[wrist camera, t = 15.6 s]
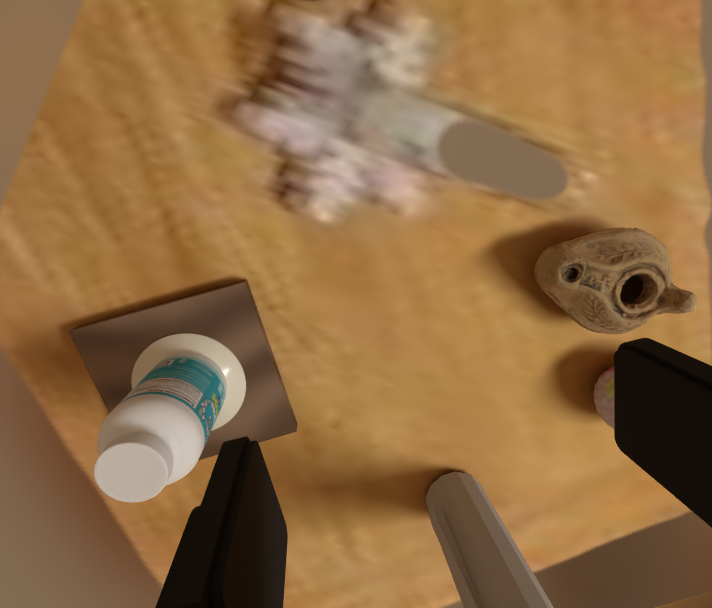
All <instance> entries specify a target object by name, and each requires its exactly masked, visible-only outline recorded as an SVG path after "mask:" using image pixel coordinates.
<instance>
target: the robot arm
mask: <svg viewBox="0 0 712 608" xmlns="http://www.w3.org/2000/svg"><path fill="white" fill-rule="evenodd" d="M614 423H615V441H616V444H617V445H618V447H619V449H620V450H621V451H622V452H623V453H624V454H625V455H627V456H628V457H629V458H630V459H631V460H632V461H634V462H635V463H636V464H637V465H638V466H640V467H641V468H642V469H643V470H644V471H645V472H647V473H648V474H649V475H650V476H651V477H653V478H654V479H655V480H656V481H657V482H658V483H660V484H661V485H662V486H663V487H664V488H666V489H667V490H668V491H669V492H670V493H672V494H673V495H674V496H675V497H676V498H677V499H679V500H680V501H681V502H682V503H683V504H685V505H686V506H687V507H688V508H689V509H690V510H692V511H693V512H694V513H695V514H696V515H698V516H699V517H700V518H701V519H702V520H704V521H705V522H706V523H707V524H708V525H709V526H711V527H712V366H711V365H708V364H706V363H704V362H701V361H699V360H697V359H695V358H692V357H690V356H688V355H686V354H683V353H681V352H679V351H677V350H674V349H672V348H670V347H667V346H665V345H663V344H661V343H658V342H656V341H654V340H652V339H649V338H641V339H637V340H633V341H629V342H625V343H622V344H621V345H620V346H619V348H618V350H617V351H616V352H615V354H614ZM286 554H287V527H286V523H285V520H284V517H283V514H282V511H281V508H280V505H279V502H278V499H277V496H276V493H275V490H274V487H273V484H272V481H271V478H270V476H269V473H268V470H267V467H266V464H265V461H264V458H263V455H262V452H261V449H260V446H259V444H258V442H257V441H256V440H254V441H250V439H249V438H248V437H247V436H245V437H241V438H237V439H233V440H229V441H225V442H223V444H222V446H221V449H220V452H219V455H218V458H217V460H216V463H215V466H214V469H213V472H212V475H211V478H210V480H209V483H208V486H207V489H206V492H205V495H204V498H203V501H202V503H201V506H198V507H196V508H194V509H193V510H192V512H191V514H190V516H189V519H188V522H187V524H186V527H185V530H184V532H183V535H182V538H181V540H180V543H179V546H178V548H177V551H176V554H175V556H174V559H173V562H172V565H171V567H170V570H169V573H168V575H167V578H166V581H165V583H164V586H163V589H162V591H161V594H160V597H159V600H158V602H157V605H156V608H283V599H284V584H285V569H286ZM656 608H712V592H709V593H706V594H702V595H699V596H695V597H692V598H688V599H685V600H681V601H677V602H674V603H670V604H667V605H663V606H659V607H656Z"/></svg>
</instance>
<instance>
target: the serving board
mask: <svg viewBox="0 0 712 608" xmlns="http://www.w3.org/2000/svg"><path fill="white" fill-rule="evenodd" d="M69 333H70V335H71V337H72V339H73V341H74V343H75V345H76V347H77V349H78V351H79V353H80V355H81V357H82V359H83V361H84V363H85V365H86V367H87V369H88V371H89V373H90V375H91V377H92V379H93V381H94V383H95V385H96V387H97V389H98V391H99V393H100V395H101V397H102V399H103V401H104V403H105V405H106V407H107V409H108V411H109V413H111V412H112V410H113V409H114V408H115V407H116V406H117V405H118V404H119V403H120V402H121V401H122V400H123V399H124V398H125V397H126V396H127V395H128V394H129V393H130V392H131V391H132V390H133V389H134V388H135V387H136V386H137V385H138V383H139V382H140V381H141V380H142V379H143V378H144V377H145V376H146V375H147V374H148V373H149V372H150V371H151V370H152V369H153V368H154V367H155V366H156V365H157V364H158V363H159V362H160V361H161V360H163V359H164V358H166V357H168V356H170V355H173V354H176V353H182V352H192V353H197V354H201V355H204V356H206V357H208V358H209V359H211V360H212V361H214V362H215V363H216V364H217V365H218V366H219V367H220V369H221V370H222V372H223V374H224V376H225V379H226V383H227V393H226V398H225V400H224V403H223V405H222V407H221V410H220V412H219V414H218V417H217V419H216V421H215V423H214V426H213V428H212V430H211V433H210V435H209V437H208V439H207V442H206V444H205V446H204V449H203V451H202V453H201V455H200V458H199V460H201V459H204V458H208V457H211V456H214V455H218V454H219V452H220V449H221V446H222V444H223V442H225V441H229V440H233V439H237V438H241V437H245V436H247V437H248V438H249V439H250V441H254V440H256V441H257V442H258V443H259V442H262V441H265V440H269V439H272V438H276V437H279V436H282V435H286V434H289V433H293V432H296V431H297V422H296V419H295V416H294V413H293V410H292V408H291V405H290V402H289V399H288V396H287V393H286V390H285V388H284V385H283V382H282V379H281V376H280V373H279V370H278V368H277V365H276V362H275V359H274V356H273V353H272V350H271V348H270V345H269V342H268V339H267V336H266V333H265V330H264V328H263V325H262V322H261V319H260V316H259V313H258V310H257V307H256V305H255V302H254V299H253V296H252V293H251V290H250V287H249V285H248V282H247V280H243V281H239V282H236V283H232V284H229V285H225V286H221V287H218V288H214V289H211V290H207V291H204V292H200V293H196V294H193V295H189V296H186V297H182V298H178V299H175V300H171V301H168V302H164V303H160V304H157V305H153V306H150V307H146V308H142V309H139V310H135V311H132V312H128V313H125V314H121V315H117V316H114V317H110V318H107V319H103V320H99V321H96V322H92V323H89V324H85V325H81V326H78V327H76V328H74V329H72V330H70V331H69Z"/></svg>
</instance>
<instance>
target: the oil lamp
mask: <svg viewBox="0 0 712 608" xmlns="http://www.w3.org/2000/svg"><path fill="white" fill-rule="evenodd" d="M534 274H535V280H536V282H537V283H538V284H539V286H540V288H541V289H542V290H543V291H544V292H545V293H546V294H547V295H548V296H549V297H550V298H551V299H552V300H553V301H554V302H555V303H556V304H557V305H558V306H559V307H560V308H561V309H562V310H564V311H565V312H566V313H567V314H568V315H569V316H570V317H571V318H572V319H573V320H574V321H575V322H577V323H578V324H579V325H580V326H582V327H584V328H586V329H588V330H590V331H593V332H597V333H606V334H622V333H626V332H629V331H632V330H634V329H636V328H639V327H641V326H642V325H644V324H645V323H647V322H648V321H649V320H650V319H651V318H652V317H653V316H655V315H656V314H657V315H658V314H662V313H676V314H679V313H686V312H691V311H693V310H694V309H695V306H696V302H697V299H696V295H695V294H694V293H692V292H689V291H686V290H682V289H679V288H678V287H676V286H675V285H673V283H672V280H673V279H672V272H671V266H670V260H669V256H668V251H667V249H666V247H665V245H664V244H663V243H662V242H660V241H659V240H658V239H657V238H655V237H654V236H652V235H651V234H649V233H647V232H645V231H643V230H641V229H638V228H634V229H631V228H612V229H606V230H601V231H597V232H594V233H591V234H587V235H584V236H581V237H579V238H575V239H573V240H569V241H565V242H562V243H560V244H558V245H553V246H550V247H547V248H546V249H545V250H544V251H543V252H542V253H541V254H540V257H539V258H538V260H537V262H536V264H535V271H534ZM570 275H571V279H569V277H570Z"/></svg>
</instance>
